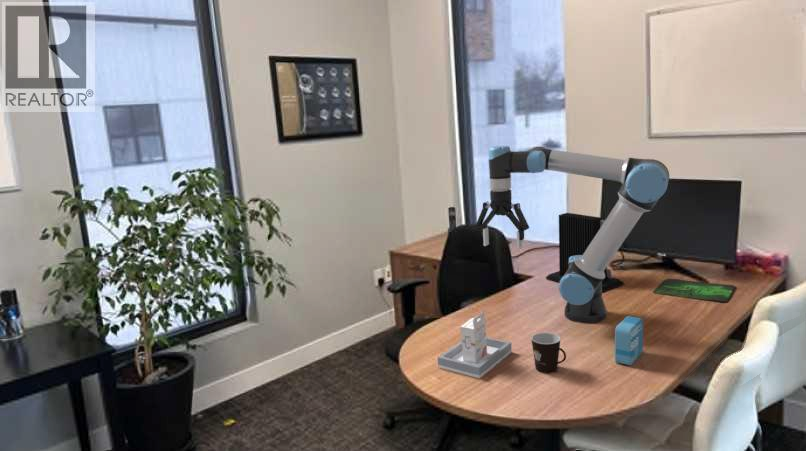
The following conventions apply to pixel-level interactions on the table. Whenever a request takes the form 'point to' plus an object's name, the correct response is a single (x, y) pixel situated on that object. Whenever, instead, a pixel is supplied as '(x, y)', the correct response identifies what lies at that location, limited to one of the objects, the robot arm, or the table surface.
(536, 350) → the coffee mug
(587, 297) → the robot arm
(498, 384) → the table surface
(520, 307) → the table surface
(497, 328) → the table surface
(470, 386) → the table surface
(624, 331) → the data package
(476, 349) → the ink cartridge box
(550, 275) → the ribbed black tower
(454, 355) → the docking bay
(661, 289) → the mouse mat
